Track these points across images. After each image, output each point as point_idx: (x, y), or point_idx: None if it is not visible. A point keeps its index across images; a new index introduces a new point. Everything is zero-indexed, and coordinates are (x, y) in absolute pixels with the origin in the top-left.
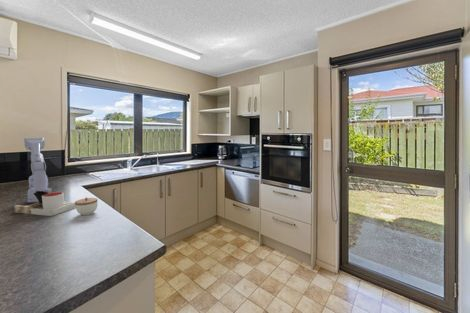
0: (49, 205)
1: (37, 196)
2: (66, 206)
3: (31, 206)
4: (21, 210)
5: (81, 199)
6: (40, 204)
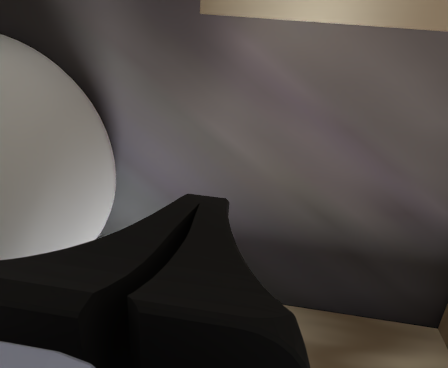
0: None
1: (179, 266)
2: None
3: (200, 10)
4: None
5: None
6: (445, 333)
